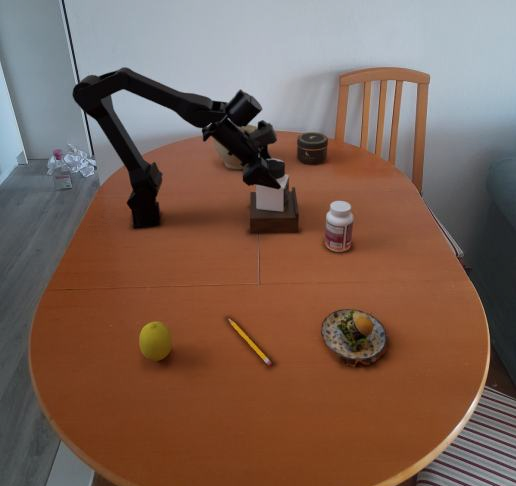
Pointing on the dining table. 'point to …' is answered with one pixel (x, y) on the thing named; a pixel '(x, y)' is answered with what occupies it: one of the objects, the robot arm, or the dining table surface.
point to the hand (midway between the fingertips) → (279, 178)
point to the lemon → (155, 341)
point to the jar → (312, 147)
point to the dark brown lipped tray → (275, 217)
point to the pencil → (251, 343)
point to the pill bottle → (339, 226)
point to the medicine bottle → (274, 197)
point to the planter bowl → (232, 160)
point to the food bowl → (354, 336)
